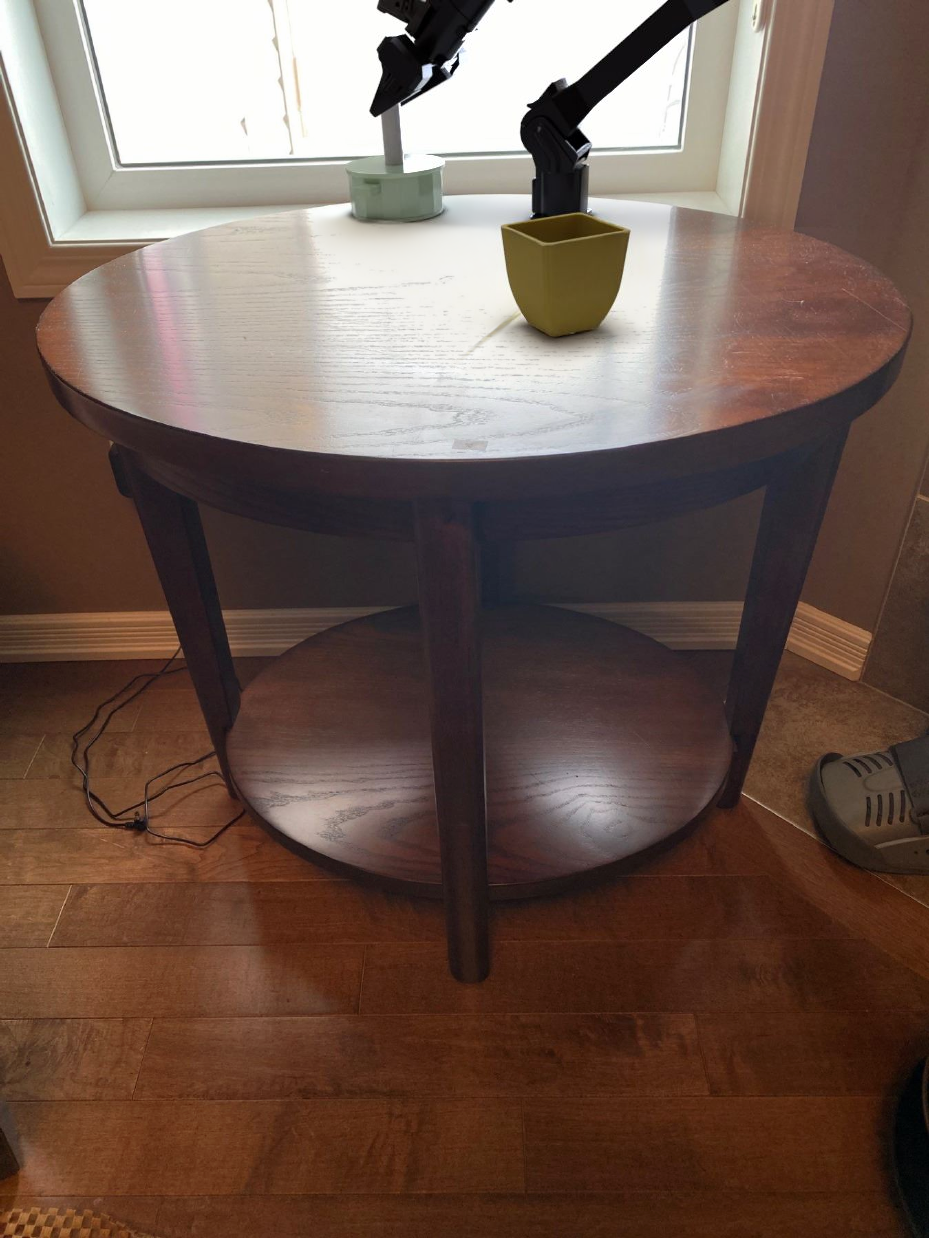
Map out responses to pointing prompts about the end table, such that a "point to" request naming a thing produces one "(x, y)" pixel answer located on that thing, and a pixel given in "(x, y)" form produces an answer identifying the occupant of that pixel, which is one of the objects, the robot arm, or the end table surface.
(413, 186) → the pot
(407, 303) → the end table surface
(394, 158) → the lid
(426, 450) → the end table surface
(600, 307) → the flower pot
